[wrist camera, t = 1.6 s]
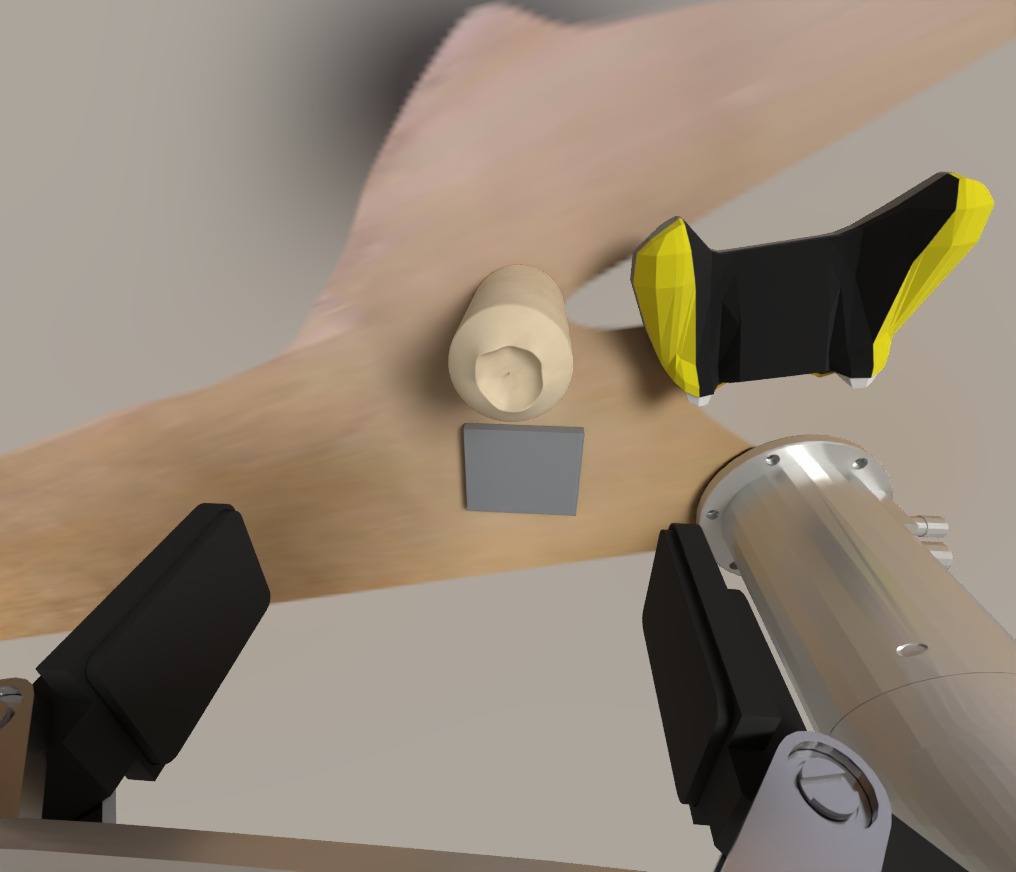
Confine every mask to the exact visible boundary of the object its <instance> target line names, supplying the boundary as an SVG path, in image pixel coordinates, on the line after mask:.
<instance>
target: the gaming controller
mask: <svg viewBox="0 0 1016 872" xmlns="http://www.w3.org/2000/svg"><path fill="white" fill-rule="evenodd" d="M994 204H995V203H994V201H993V199H992V197H991V195H990V193H989V191H988V189H987V188H986V187H985V186H984V185H983V184H982V183H980V182H977V181H975V180H972V179H967V178H965V177H962V176H961V175H958V174H956V173H951V172H939V173H936V174H935V175H933V176H931V177H930V178H928V179H927V180H925V181H923V182H922V183H920V184H918V185H917V186H915V187H914V188H912V189H910V190H908V191H907V192H905V193H904V194H902V195H900V196H899V197H897V198H895V199H894V200H893V201H890V202H889V203H887V204H886V205H884V206H882V207H881V208H879V209H877V210H875V211H874V212H872V213H870V214H869V215H867V216H865V217H863V218H862V219H860V220H858V221H857V222H855V223H853V224H851V225H850V226H847V227H845V228H842V229H840V230H837V231H835V232H833V233H828V234H822V235H818V236H811V237H804V238H798V239H792V240H786V241H779V242H772V243H766V244H760V245H753V246H747V247H740V248H734V249H726V250H719V251H717V250H713V249H710V248H708V247H707V245H706V244H705V243H704V242H703V241H702V240H701V239H700V238H699V236H698V235H697V234H696V233H695V232H694V231H693V230H692V229H691V227H690V226H689V225H688V224H687V223H686V222H685V221H684V220H683V218H681V217H680V216H675V217H673V218H671V219H669V220H667V221H666V222H664V223H663V224H661V225H660V226H659V227H658V228H657V229H656V230H655V231H654V232H653V233H652V234H651V235H650V236H648V237H647V238H646V239H645V240H644V241H643V242H642V243H641V244H640V245H639V246H638V248H637V249H636V250H635V251H634V252H633V258H632V268H631V279H630V280H631V283H632V287H633V290H634V294H635V297H636V301H637V304H638V308H639V311H640V315H641V318H642V322H643V325H644V328H645V330H646V332H647V334H648V337H649V339H650V341H651V343H652V346H653V348H654V350H655V352H656V355H657V357H658V359H659V361H660V362H661V364H662V366H663V368H664V369H665V371H666V372H667V374H668V375H669V376H670V377H671V378H672V380H673V381H674V382H675V383H676V384H677V385H678V386H679V387H681V388H682V389H683V390H684V391H685V392H686V395H687V397H688V400H689V402H691V403H693V404H695V405H696V406H698V407H699V406H703V405H707V404H708V402H709V399H710V398H711V396H712V394H714V391H715V389H717V388H719V387H720V386H722V385H724V384H725V383H734V382H744V381H752V380H761V379H770V378H778V377H787V376H795V375H803V374H813V375H815V376H817V377H823V376H826V375H830V374H833V373H836V374H837V375H838V376H839V377H841V378H842V379H843V380H844V381H845V382H846V383H847V384H849V385H850V386H851V387H852V388H866V387H867V386H868V385H869V384H870V383H871V382H872V381H873V380H874V378H875V376H876V375H877V373H878V372H879V371H881V370H882V369H883V368H884V366H885V364H886V361H887V359H888V356H889V351H890V346H891V341H892V336H893V335H894V334H895V333H896V331H897V330H898V329H899V328H900V327H901V326H902V325H903V324H904V323H905V322H906V320H907V319H908V318H909V317H910V316H911V315H912V314H913V313H914V312H915V310H916V309H917V308H918V307H919V306H920V305H921V304H922V303H923V302H924V301H925V299H926V298H927V297H928V296H929V295H930V294H931V293H932V292H933V290H934V289H935V288H936V287H937V286H938V285H939V284H940V283H941V282H942V280H943V279H944V278H945V277H946V276H947V275H948V274H949V273H950V272H951V271H952V269H953V268H954V267H955V266H956V265H957V264H958V263H959V262H960V261H961V259H962V258H963V257H964V256H965V255H966V254H967V253H968V252H969V250H970V249H971V248H972V247H973V246H974V245H975V244H976V243H977V242H978V240H979V237H980V235H981V233H982V231H983V228H984V226H985V224H986V222H987V219H988V217H989V215H990V213H991V210H992V208H993V206H994Z"/></svg>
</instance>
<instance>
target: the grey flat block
mask: <svg viewBox="0 0 1016 872" xmlns="http://www.w3.org/2000/svg"><path fill="white" fill-rule="evenodd" d="M583 442H584V427H557V426H530V425H504V424H477V423H465V426H464V449H465V470H466V491H467V511H485V512H506V513H527V514H549V515H570V516H576V509H577V500H578V490H579V481H580V471H581V461H582V452H583Z"/></svg>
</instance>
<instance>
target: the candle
mask: <svg viewBox="0 0 1016 872" xmlns="http://www.w3.org/2000/svg"><path fill="white" fill-rule="evenodd" d="M448 370H449V374H450V378H451V381H452V384H453V386H454V388H455V390H456V391H457V393H458V394H459V396H460V397H461V398H462V399H463V401H464V402H465V403H466V404H467V405H469V406H470V407H471V408H472V409H474V410H475V411H477V412H478V413H480V414H482V415H484V416H486V417H489V418H492V419H495V420H499V421H507V422H516V421H524V420H529V419H532V418H535V417H538V416H540V415H542V414H544V413H545V412H547V411H548V410H550V409H551V408H552V407H553V406H555V405H556V404H557V403H558V402H559V401H560V399H561V398H562V397H563V395H564V394H565V392H566V390H567V388H568V386H569V384H570V381H571V377H572V373H573V355H572V348H571V342H570V335H569V328H568V321H567V315H566V308H565V303H564V299H563V296H562V293H561V291H560V289H559V288H558V286H557V285H556V283H555V282H554V281H553V280H552V279H551V278H550V277H549V276H548V275H547V274H545V273H544V272H542V271H540V270H539V269H536V268H534V267H530V266H526V265H511V266H507V267H503V268H501V269H498V270H496V271H495V272H493V273H491V274H490V275H489V276H488V277H486V279H485V280H484V281H483V282H482V283H481V284H480V286H479V287H478V289H477V291H476V293H475V295H474V297H473V299H472V301H471V303H470V305H469V307H468V309H467V311H466V313H465V315H464V317H463V319H462V321H461V323H460V325H459V327H458V329H457V331H456V333H455V335H454V337H453V340H452V342H451V345H450V349H449V354H448Z"/></svg>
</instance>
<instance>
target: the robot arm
mask: <svg viewBox="0 0 1016 872" xmlns="http://www.w3.org/2000/svg"><path fill="white" fill-rule="evenodd" d="M947 533H948V524H947V522H946V521H945V519H944V518H942V517H940V516H908V515H907V514H906V513H905V512H904V511H903V510H902V509H901V508H900V507H899V506H898V505H897V504H896V503H895V502H894V501H893V488H892V483H891V478H890V477H889V475H888V473H887V472H886V470H885V468H884V466H883V465H882V464H881V463H880V462H879V461H878V460H877V459H876V458H875V457H874V456H873V455H872V454H870V453H869V452H868V451H866V450H865V449H864V448H862V447H861V446H859V445H857V444H855V443H852V442H850V441H848V440H846V439H842V438H837V437H832V436H828V435H800V436H791V437H786V438H782V439H778V440H774V441H770V442H767V443H765V444H763V445H760V446H758V447H755V448H753V449H751V450H749V451H747V452H746V453H744V454H742V455H741V456H739V457H737V458H736V459H734V460H733V461H731V462H730V463H729V464H728V465H727V466H725V467H724V468H723V469H722V470H720V471H719V473H718V474H717V475H716V476H715V477H714V478H713V479H712V481H711V482H710V483H709V484H708V486H707V488H706V489H705V491H704V493H703V494H702V496H701V499H700V502H699V505H698V508H697V514H696V524H680V523H672V524H670V526H669V529H668V530H661V531H660V534H659V539H658V544H657V548H656V553H655V558H654V562H653V567H652V572H651V576H650V581H649V586H648V591H647V596H646V600H645V604H644V609H643V617H642V623H643V631H644V636H645V641H646V646H647V651H648V655H649V660H650V665H651V670H652V675H653V680H654V684H655V689H656V694H657V699H658V704H659V709H660V713H661V718H662V722H663V727H664V732H665V737H666V742H667V747H668V752H669V757H670V762H671V766H672V771H673V776H674V781H675V786H676V790H677V794H678V797H679V800H680V802H681V803H682V804H689V806H690V810H691V815H692V820H693V824H699V825H710V829H711V833H712V837H713V841H714V845H715V847H716V848H717V849H718V850H719V851H720V852H721V855H720V857H719V859H718V861H717V863H716V866H715V868H714V870H713V872H1016V639H1015V638H1014V637H1013V636H1012V635H1011V634H1010V633H1009V632H1008V631H1007V630H1006V629H1005V628H1004V627H1003V626H1002V625H1001V624H1000V623H999V622H998V621H997V620H996V619H995V618H994V617H993V616H992V615H991V614H990V613H989V612H988V611H987V610H986V609H985V608H984V607H983V606H982V604H981V603H980V602H978V601H977V599H976V598H975V597H974V596H973V595H972V594H971V593H970V592H969V591H968V590H967V589H966V588H965V587H964V586H963V585H962V584H961V583H960V582H959V581H958V580H957V579H956V578H955V577H954V576H953V575H952V574H951V573H950V572H949V571H948V569H949V568H950V567H951V565H952V561H953V557H952V553H951V551H950V549H949V548H948V546H947V545H945V544H943V543H942V542H926V541H919V540H918V539H917V538H916V537H915V536H914V535H917V536H919V537H937V538H940V537H944V536H946V535H947ZM717 564H718V565H719V566H721V567H722V568H724V569H725V570H727V571H729V572H731V573H734V574H736V575H739V576H742V578H743V580H744V582H745V584H746V587H747V589H748V591H749V593H750V595H751V597H752V599H753V601H754V604H755V606H756V607H757V610H758V612H759V614H760V616H761V618H762V621H763V623H764V625H765V627H766V629H767V631H768V633H769V635H770V637H771V640H772V642H773V644H774V646H775V648H776V650H777V652H778V655H779V657H780V659H781V661H782V663H783V665H784V667H785V669H786V671H787V674H788V676H789V678H790V680H791V682H792V684H793V686H794V688H795V691H796V693H797V695H798V697H799V699H800V701H801V703H802V705H803V708H804V710H805V712H806V714H807V716H808V718H809V720H810V723H811V724H812V727H813V729H814V731H815V732H813V731H807V730H806V727H805V725H804V723H803V721H802V719H801V717H800V714H799V712H798V710H797V708H796V706H795V704H794V701H793V699H792V697H791V695H790V693H789V690H788V688H787V686H786V684H785V681H784V679H783V677H782V675H781V673H780V670H779V668H778V666H777V664H776V662H775V659H774V657H773V655H772V653H771V651H770V649H769V646H768V644H767V642H766V640H765V638H764V636H763V633H762V631H761V629H760V627H759V625H758V622H757V620H756V618H755V616H754V613H753V611H752V609H751V607H750V605H749V602H748V600H747V599H746V597H745V595H744V594H743V593H742V592H741V591H740V590H736V589H727V586H726V584H725V582H724V579H723V577H722V575H721V572H720V570H719V567H718V565H717ZM269 603H270V591H269V588H268V585H267V583H266V580H265V577H264V575H263V572H262V569H261V567H260V564H259V561H258V559H257V556H256V553H255V551H254V548H253V545H252V543H251V540H250V537H249V534H248V532H247V529H246V526H245V524H244V521H243V518H242V516H241V514H240V513H239V512H238V511H235V509H234V507H233V506H231V505H229V504H214V503H203V504H200V505H198V506H197V507H196V508H195V509H194V510H193V511H192V512H191V513H190V514H189V515H188V516H187V517H186V518H185V519H184V520H183V521H182V522H181V523H180V524H179V525H178V526H177V527H176V528H175V529H174V530H173V531H172V532H171V533H170V534H169V535H168V536H167V537H166V538H165V539H164V540H163V541H162V542H161V543H160V544H159V545H158V546H157V547H156V548H155V549H154V550H153V551H152V552H151V553H150V554H149V555H148V556H147V557H146V558H145V559H144V560H143V561H142V562H141V563H140V564H139V565H138V566H137V567H136V568H135V569H134V570H133V571H132V572H131V573H130V574H129V575H128V576H127V577H126V578H125V579H124V580H123V581H122V582H121V583H120V584H119V585H118V586H117V587H116V588H115V589H114V590H113V591H112V592H111V593H110V594H109V595H108V596H107V597H106V598H105V599H104V600H103V601H102V602H101V603H100V604H99V605H98V606H97V607H96V608H95V609H94V610H93V611H92V612H91V613H90V614H89V615H88V616H87V617H86V618H85V619H84V620H83V621H82V622H81V623H80V624H79V625H78V626H77V627H76V628H75V629H74V630H73V631H72V632H71V633H70V634H69V635H68V637H66V638H65V640H63V641H62V642H61V643H60V644H59V645H58V646H57V647H56V649H54V650H53V651H52V652H51V654H49V655H48V656H47V657H46V659H45V660H44V661H42V662H41V663H40V665H39V666H38V667H37V668H36V670H37V671H38V673H39V674H40V675H41V676H40V677H39V678H38V679H37V680H36V681H35V682H34V683H33V684H31V683H30V682H29V681H28V680H26V679H21V678H9V679H1V680H0V872H645V871H636V870H627V869H617V868H609V867H600V866H590V865H581V864H573V863H563V862H555V861H545V860H534V859H523V858H511V857H500V856H490V855H478V854H467V853H456V852H446V851H435V850H424V849H413V848H401V847H389V846H378V845H367V844H354V843H343V842H332V841H319V840H307V839H296V838H285V837H273V836H261V835H249V834H238V833H225V832H213V831H200V830H187V829H175V828H161V827H150V826H138V825H125V824H116V788H117V786H118V785H119V783H120V782H121V780H122V779H123V777H124V776H126V778H127V779H132V780H144V781H155V780H156V779H157V777H158V775H159V774H160V772H161V771H162V769H163V767H164V766H165V764H168V763H169V762H171V761H172V760H173V759H174V758H175V757H176V756H177V755H178V753H179V752H180V750H181V749H182V747H183V745H184V744H185V742H186V740H187V739H188V737H189V736H190V734H191V732H192V731H193V729H194V727H195V726H196V724H197V722H198V721H199V719H200V718H201V716H202V714H203V713H204V711H205V709H206V708H207V706H208V705H209V703H210V701H211V699H212V698H213V696H214V695H215V693H216V692H217V690H218V688H219V687H220V685H221V683H222V682H223V680H224V679H225V677H226V675H227V674H228V672H229V670H230V669H231V667H232V665H233V664H234V662H235V661H236V659H237V657H238V656H239V654H240V652H241V651H242V649H243V648H244V646H245V644H246V642H247V641H248V639H249V638H250V636H251V634H252V633H253V631H254V630H255V628H256V626H257V625H258V623H259V622H260V620H261V618H262V617H263V615H264V613H265V612H266V610H267V608H268V606H269Z"/></svg>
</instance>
